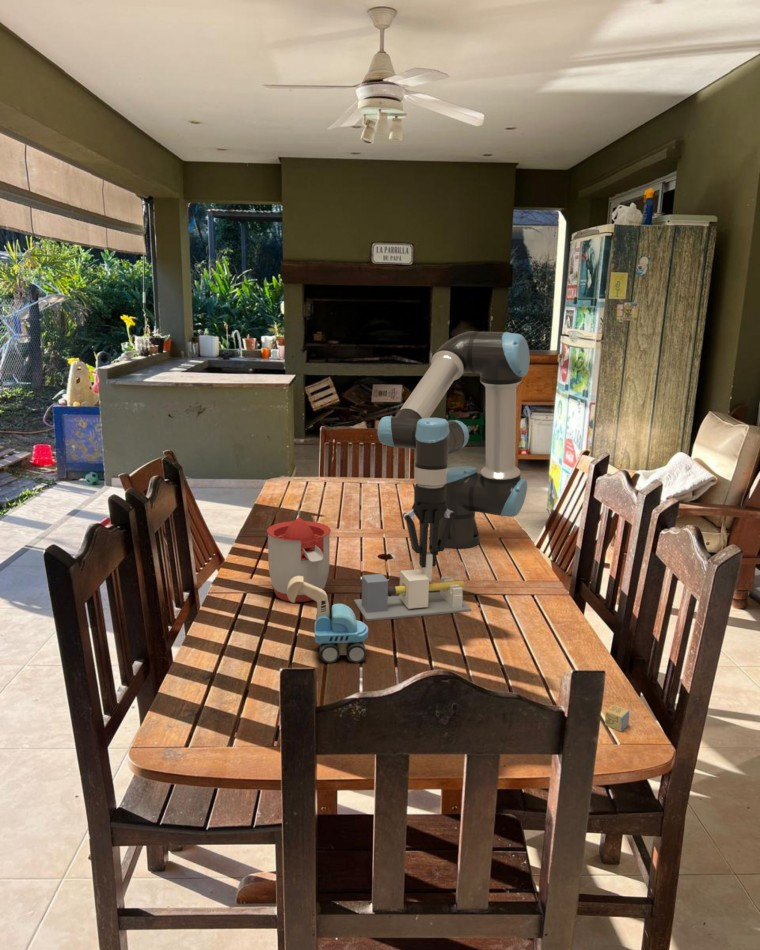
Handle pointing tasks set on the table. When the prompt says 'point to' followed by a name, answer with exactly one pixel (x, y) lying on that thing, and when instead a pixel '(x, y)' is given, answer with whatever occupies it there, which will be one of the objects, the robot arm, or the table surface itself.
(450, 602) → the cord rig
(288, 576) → the citrus juicer
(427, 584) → the sleeve
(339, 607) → the toy excavator
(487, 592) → the table surface
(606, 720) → the alphabet block
